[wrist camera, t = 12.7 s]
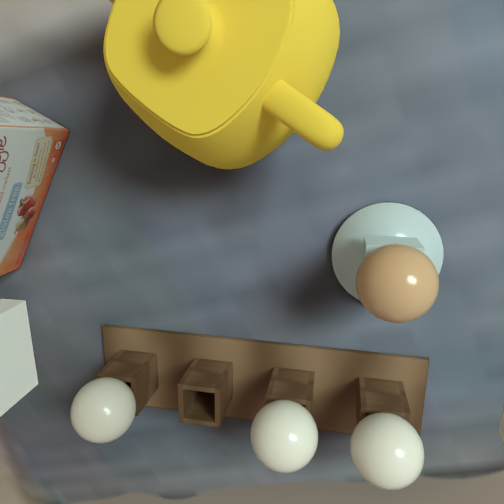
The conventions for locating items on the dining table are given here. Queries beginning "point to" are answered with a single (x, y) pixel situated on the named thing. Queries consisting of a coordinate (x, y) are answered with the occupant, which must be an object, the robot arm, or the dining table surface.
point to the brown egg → (397, 283)
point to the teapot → (226, 73)
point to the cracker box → (24, 175)
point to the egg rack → (261, 377)
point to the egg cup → (381, 238)
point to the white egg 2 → (284, 436)
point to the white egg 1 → (103, 410)
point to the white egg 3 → (387, 451)
